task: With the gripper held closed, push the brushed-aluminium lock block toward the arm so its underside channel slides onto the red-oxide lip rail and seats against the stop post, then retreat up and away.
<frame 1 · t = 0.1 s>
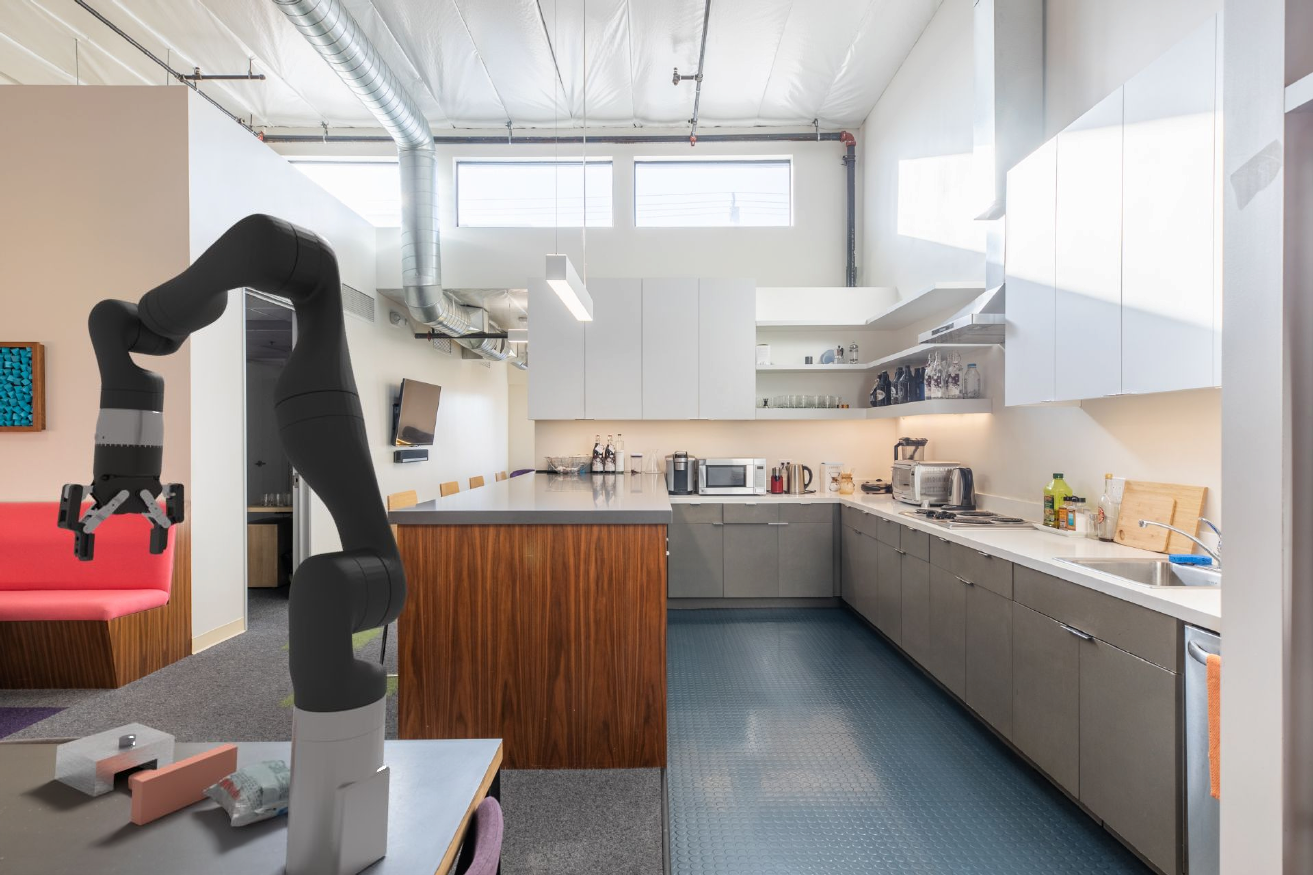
hand: (122, 557, 90), 29 cm above the table, fingers open, 8 cm apart
packaged food: (254, 814, 79), on the table
lock: (115, 774, 87), on the table
coupler lip: (163, 792, 83), on the table
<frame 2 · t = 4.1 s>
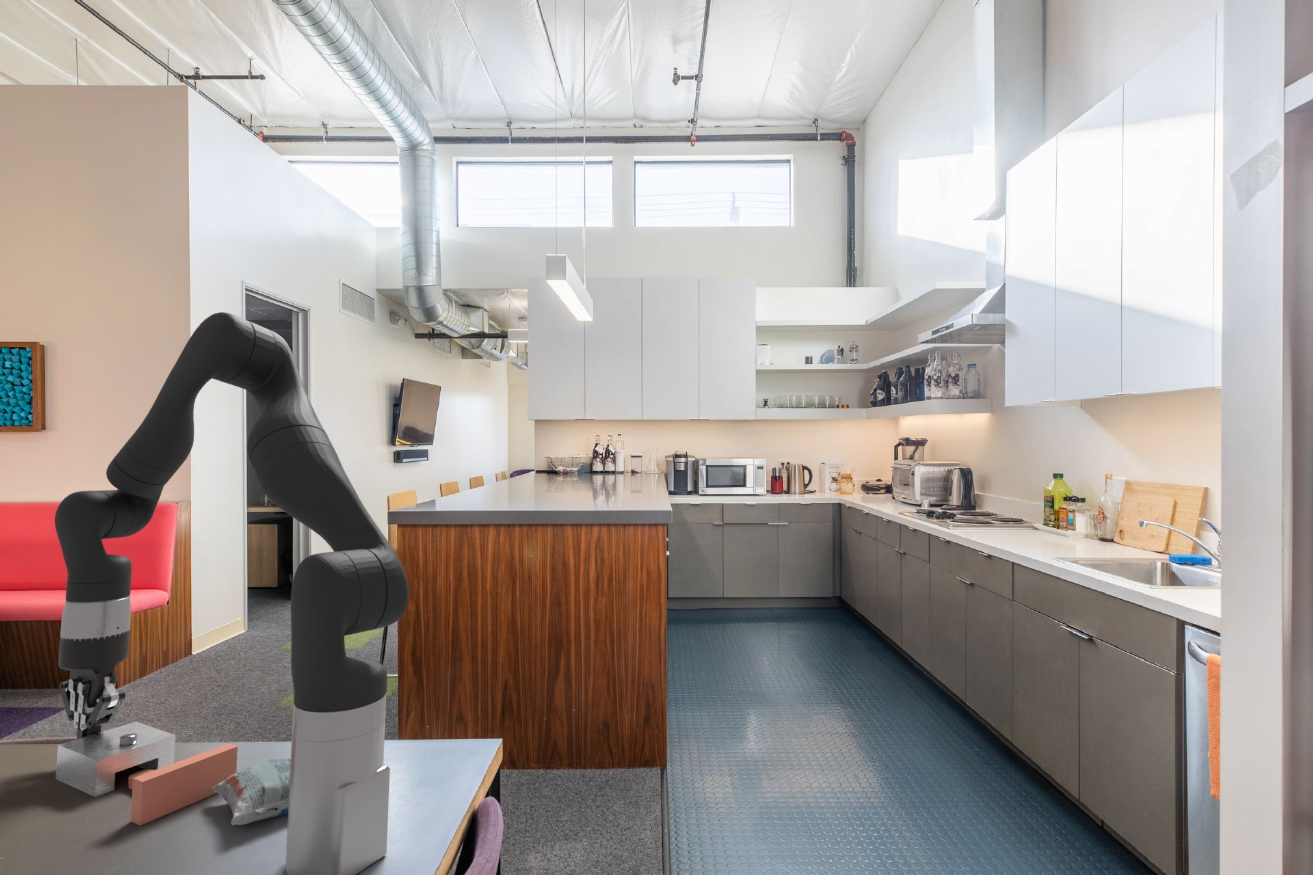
hand: (87, 753, 91), 1 cm above the table, fingers closed
lock: (116, 773, 87), on the table, touching gripper
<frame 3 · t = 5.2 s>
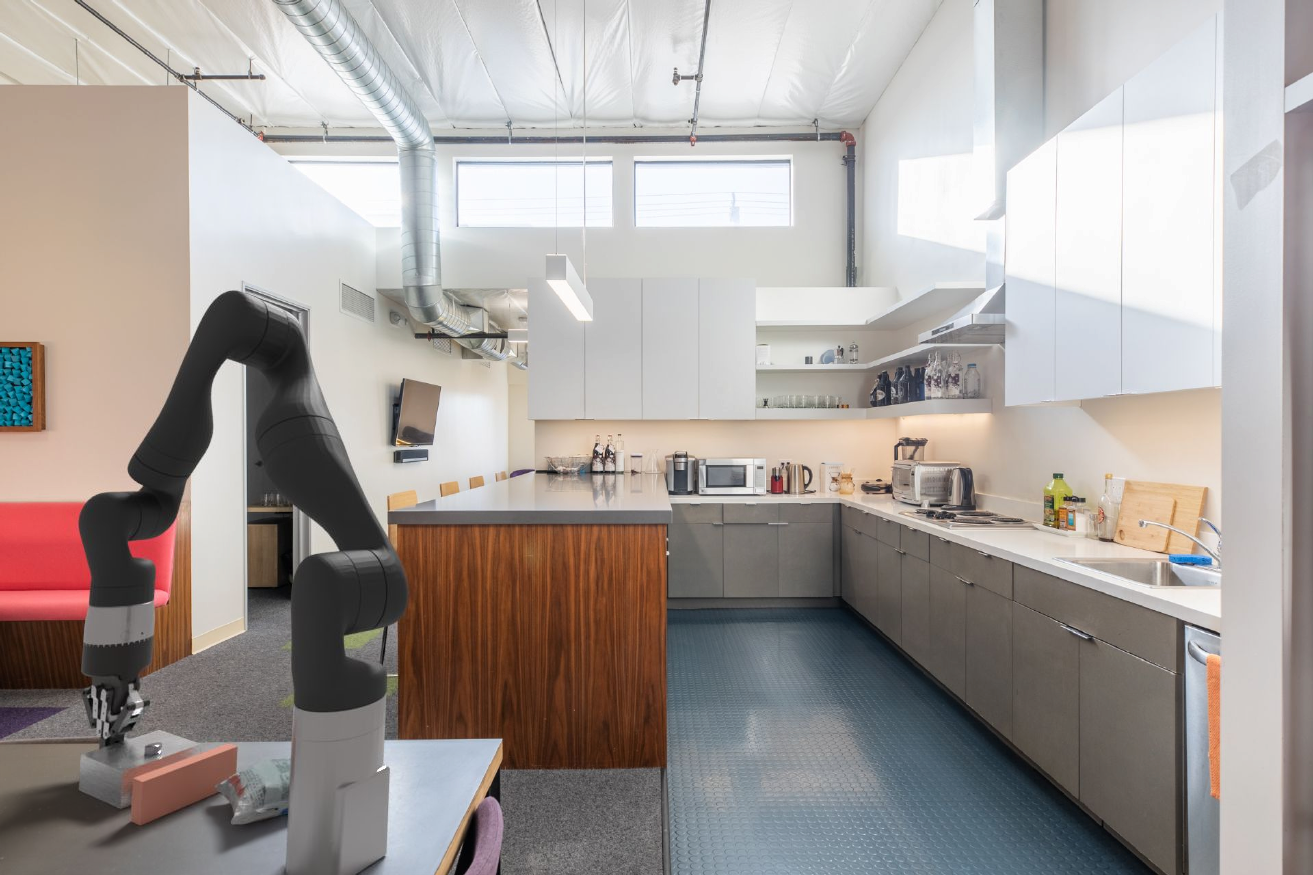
hand: (110, 762, 88), 1 cm above the table, fingers closed
lock: (140, 783, 85), on the table, touching gripper
everything else where it was.
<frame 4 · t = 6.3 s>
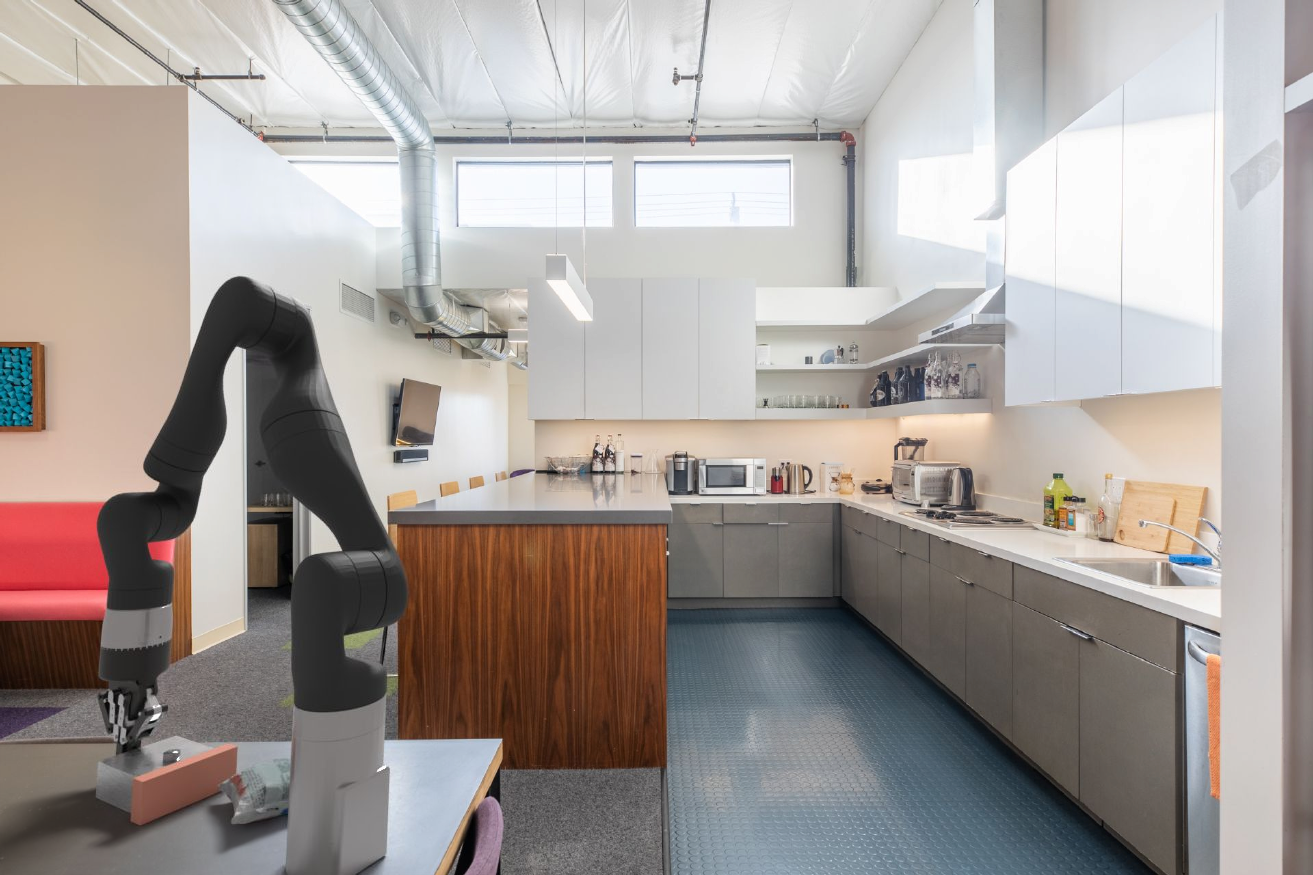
hand: (126, 768, 86), 1 cm above the table, fingers closed
lock: (158, 791, 83), on the table, touching coupler lip, gripper
everything else where it was.
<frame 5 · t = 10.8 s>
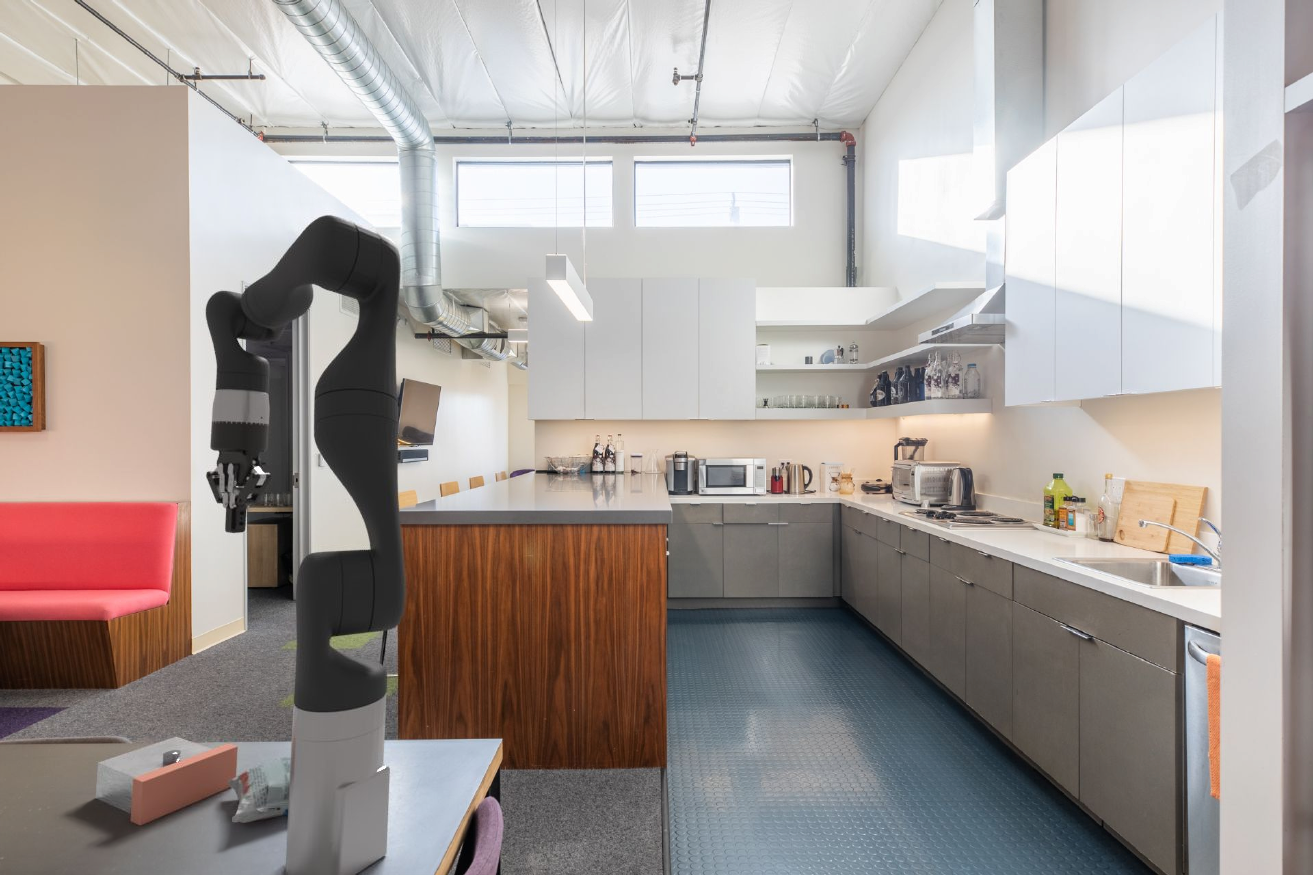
hand: (234, 532, 99), 32 cm above the table, fingers closed
lock: (158, 792, 83), on the table
at the end: lock 0.5 cm from the target spot on the coupler lip, point 0.0 cm above the coupler lip's base; lock tilted 0° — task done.
